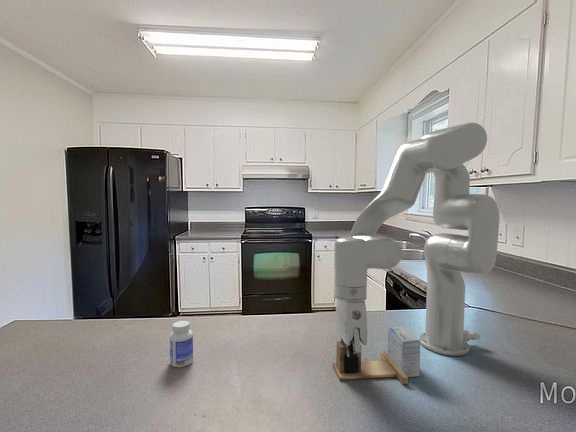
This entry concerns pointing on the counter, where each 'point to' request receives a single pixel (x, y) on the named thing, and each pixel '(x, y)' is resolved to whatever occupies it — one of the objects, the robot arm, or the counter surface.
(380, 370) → the wooden t-shaped piece
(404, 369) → the medicine box
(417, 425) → the counter surface
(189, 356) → the pill bottle
